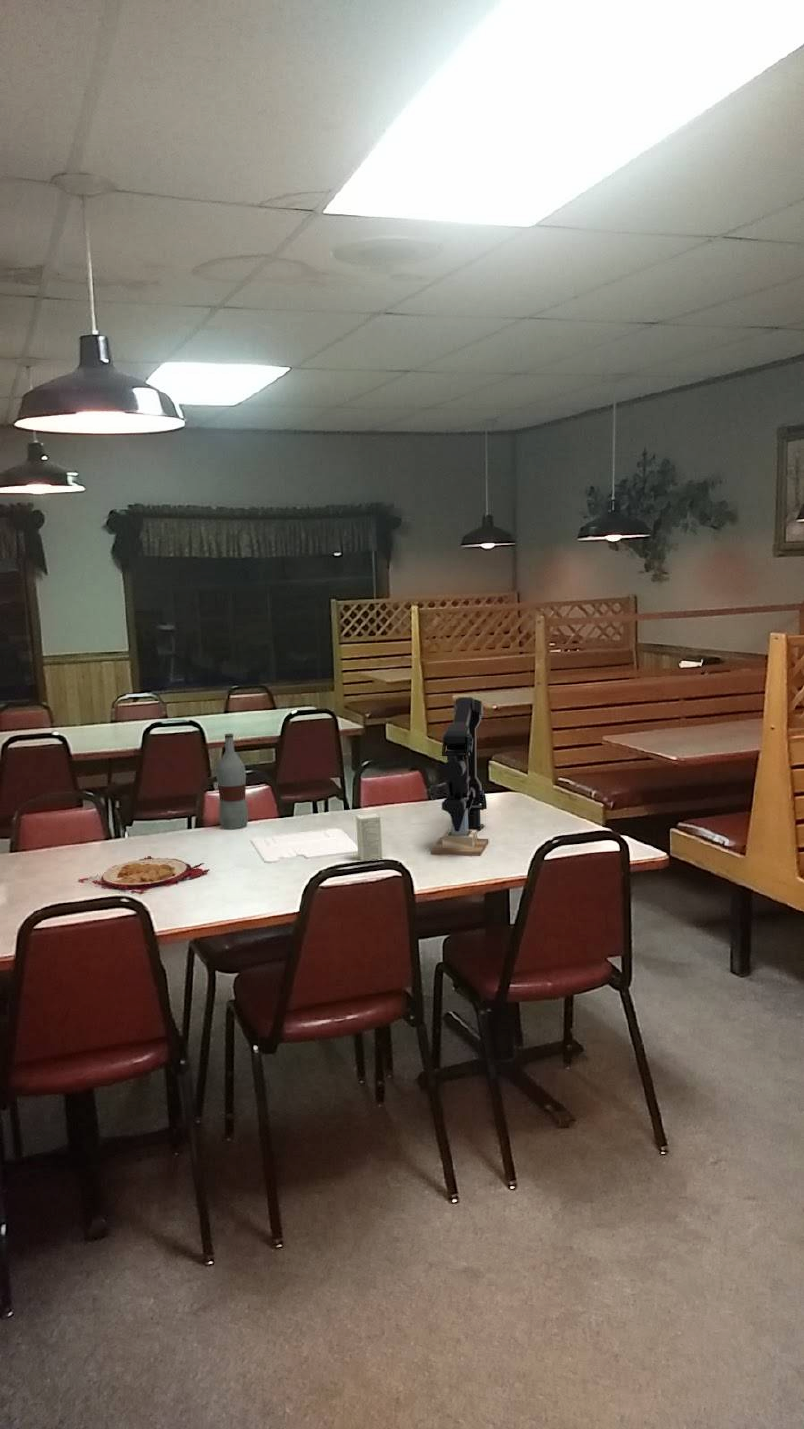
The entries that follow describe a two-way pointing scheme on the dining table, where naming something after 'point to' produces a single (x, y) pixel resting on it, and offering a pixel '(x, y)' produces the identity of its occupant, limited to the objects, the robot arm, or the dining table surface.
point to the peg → (463, 828)
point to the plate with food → (147, 874)
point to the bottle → (232, 788)
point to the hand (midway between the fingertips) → (459, 827)
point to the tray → (304, 845)
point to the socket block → (460, 844)
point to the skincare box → (369, 836)
